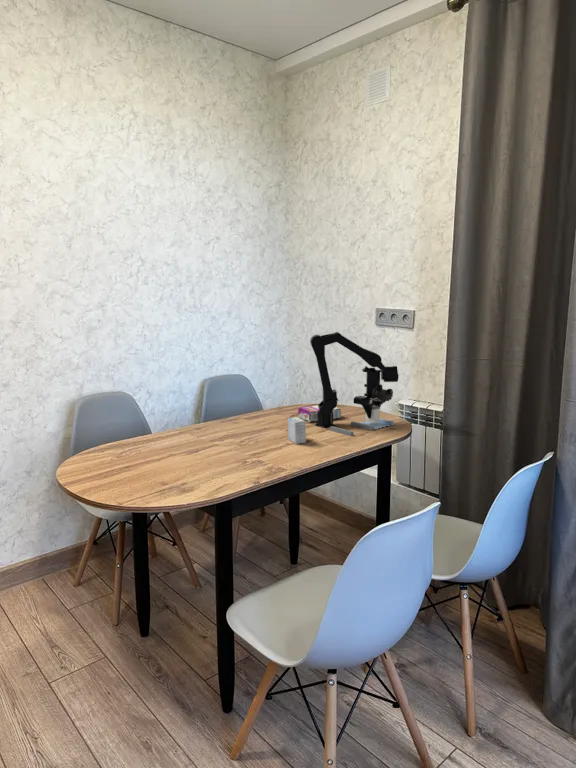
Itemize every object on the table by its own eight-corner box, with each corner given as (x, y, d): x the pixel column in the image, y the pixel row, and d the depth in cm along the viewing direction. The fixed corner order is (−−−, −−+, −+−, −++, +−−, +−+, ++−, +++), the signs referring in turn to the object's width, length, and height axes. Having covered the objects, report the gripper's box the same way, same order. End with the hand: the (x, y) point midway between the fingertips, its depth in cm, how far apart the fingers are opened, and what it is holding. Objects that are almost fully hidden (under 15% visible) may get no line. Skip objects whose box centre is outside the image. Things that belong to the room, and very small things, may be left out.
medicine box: (306, 443, 204) (306, 421, 202) (295, 444, 202) (295, 422, 201) (298, 438, 211) (298, 416, 210) (287, 439, 209) (287, 417, 208)
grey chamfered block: (374, 423, 227) (374, 407, 226) (365, 421, 231) (365, 405, 230) (379, 422, 229) (380, 406, 228) (370, 420, 233) (371, 404, 232)
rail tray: (350, 436, 213) (350, 432, 213) (329, 430, 222) (329, 426, 222) (393, 424, 230) (393, 421, 230) (372, 419, 239) (372, 416, 239)
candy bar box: (309, 423, 235) (341, 418, 242) (309, 412, 234) (341, 407, 241) (297, 418, 245) (328, 413, 252) (297, 407, 244) (328, 403, 251)
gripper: (373, 387, 215) (372, 424, 218) (402, 382, 227) (400, 417, 230) (352, 383, 223) (352, 419, 226) (381, 378, 235) (381, 413, 238)
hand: (372, 417), depth 230 cm, fingers closed on grey chamfered block, 3 cm apart
